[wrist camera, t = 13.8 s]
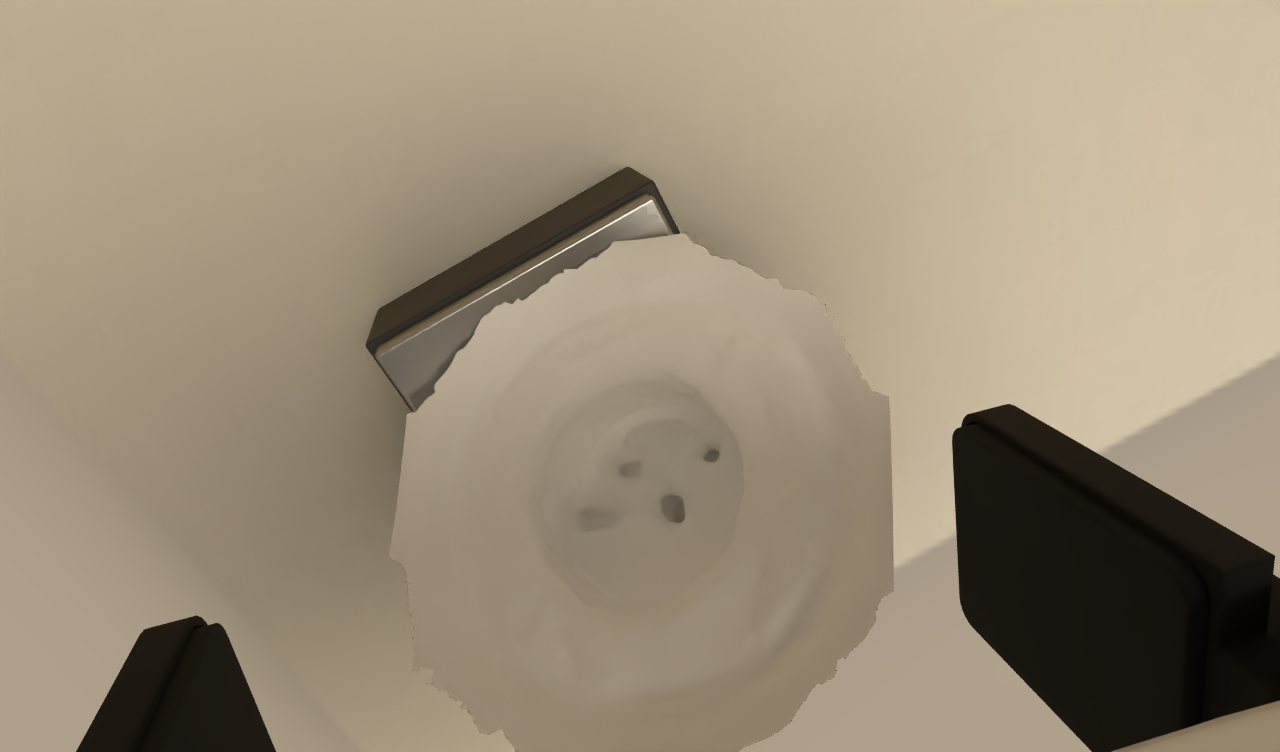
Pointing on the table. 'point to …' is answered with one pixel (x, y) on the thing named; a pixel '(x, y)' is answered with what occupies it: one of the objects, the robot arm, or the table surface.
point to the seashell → (645, 507)
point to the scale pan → (505, 298)
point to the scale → (511, 254)
